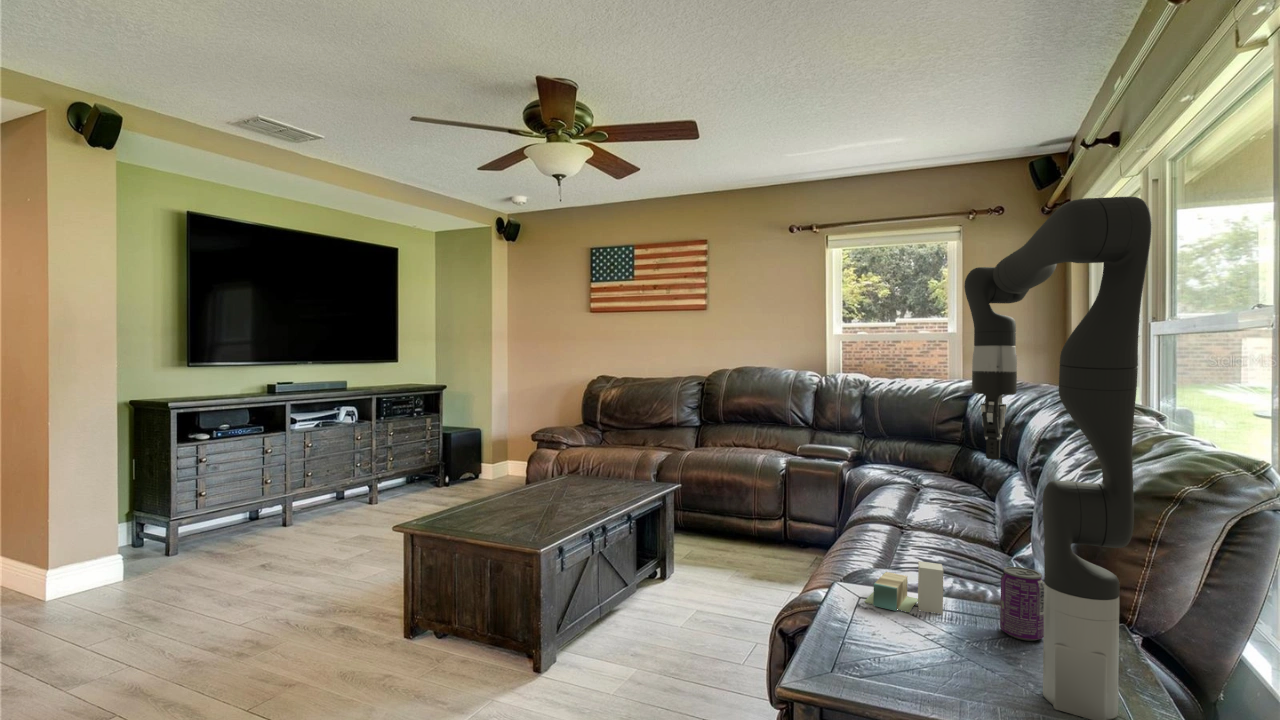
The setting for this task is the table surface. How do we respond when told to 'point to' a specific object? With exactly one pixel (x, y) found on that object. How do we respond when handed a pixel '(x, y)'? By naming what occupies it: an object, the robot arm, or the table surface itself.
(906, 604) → the mat
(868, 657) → the table surface
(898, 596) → the birch block
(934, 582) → the grey block
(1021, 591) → the beverage can
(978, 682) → the table surface
